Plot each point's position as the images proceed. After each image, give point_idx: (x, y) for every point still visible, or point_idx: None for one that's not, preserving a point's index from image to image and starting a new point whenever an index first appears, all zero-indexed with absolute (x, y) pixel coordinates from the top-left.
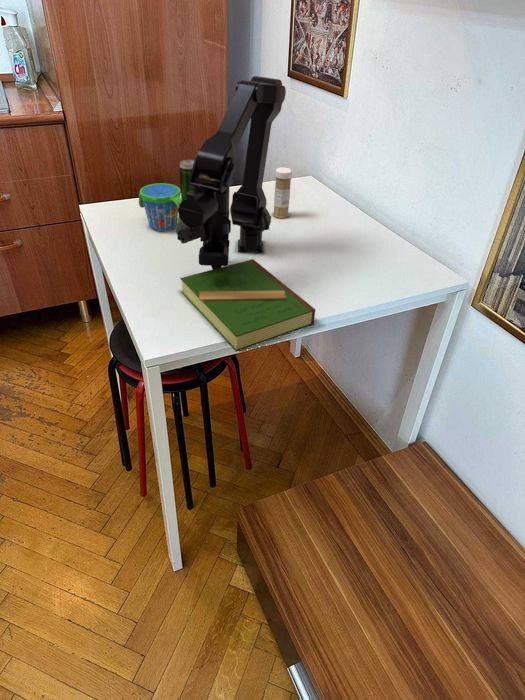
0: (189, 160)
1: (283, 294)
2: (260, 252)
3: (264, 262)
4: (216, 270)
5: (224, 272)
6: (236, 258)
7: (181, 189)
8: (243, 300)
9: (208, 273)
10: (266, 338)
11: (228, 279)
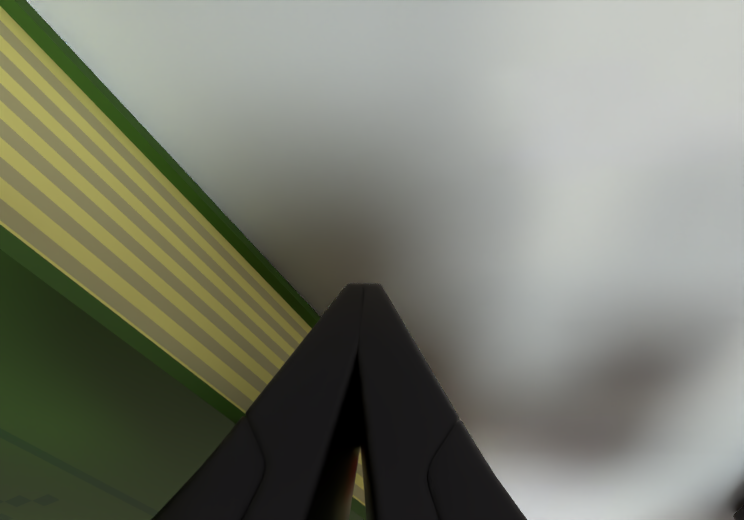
0: None
1: None
2: (739, 514)
3: (598, 513)
4: (171, 418)
5: (159, 479)
6: (731, 396)
7: None
8: None
9: (23, 337)
10: None
11: (13, 507)
